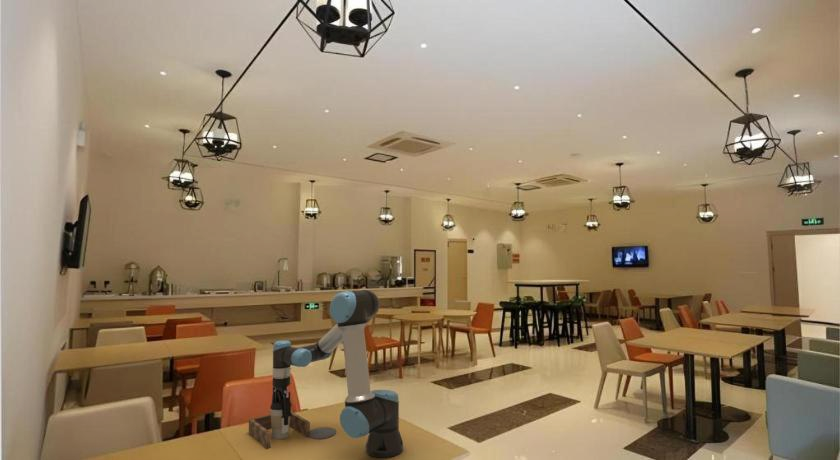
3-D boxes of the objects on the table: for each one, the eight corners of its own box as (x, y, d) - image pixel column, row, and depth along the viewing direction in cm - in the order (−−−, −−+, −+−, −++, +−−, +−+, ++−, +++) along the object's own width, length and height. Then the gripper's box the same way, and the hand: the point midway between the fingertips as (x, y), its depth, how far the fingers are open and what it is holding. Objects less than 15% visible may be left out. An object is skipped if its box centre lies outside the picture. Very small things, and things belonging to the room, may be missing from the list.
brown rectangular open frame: (309, 436, 187) (309, 422, 187) (266, 448, 174) (267, 433, 175) (289, 422, 203) (289, 409, 203) (248, 433, 191) (248, 419, 191)
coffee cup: (284, 440, 182) (285, 404, 183) (265, 439, 184) (266, 403, 185) (295, 432, 191) (295, 398, 192) (276, 431, 193) (277, 397, 194)
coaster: (340, 434, 189) (340, 432, 189) (316, 441, 181) (316, 440, 181) (327, 426, 198) (327, 425, 198) (303, 433, 190) (303, 431, 190)
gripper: (299, 379, 184) (299, 434, 182) (280, 370, 200) (279, 420, 198) (283, 383, 179) (282, 438, 177) (264, 373, 195) (263, 424, 193)
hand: (280, 429), depth 188 cm, fingers closed on coffee cup, 8 cm apart
